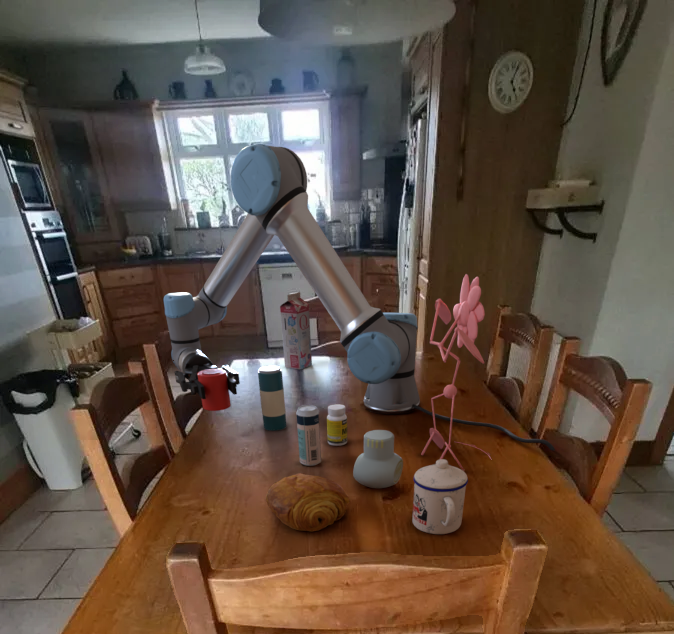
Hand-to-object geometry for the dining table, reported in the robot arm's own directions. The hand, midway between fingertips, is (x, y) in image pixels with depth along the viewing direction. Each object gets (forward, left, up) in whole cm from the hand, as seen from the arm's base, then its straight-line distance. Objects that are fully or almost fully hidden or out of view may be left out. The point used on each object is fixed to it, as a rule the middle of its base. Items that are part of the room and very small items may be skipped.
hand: (219, 390), depth 124 cm
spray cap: (+4, -3, -5) cm, 7 cm away
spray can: (-4, -14, -12) cm, 19 cm away
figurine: (-53, -15, -12) cm, 56 cm away
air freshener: (-43, +3, -12) cm, 45 cm away
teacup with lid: (-61, +14, -12) cm, 63 cm away
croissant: (-38, +21, -12) cm, 45 cm away
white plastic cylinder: (-25, +1, -12) cm, 28 cm away
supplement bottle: (-24, -12, -12) cm, 30 cm away
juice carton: (+25, -66, -12) cm, 72 cm away
